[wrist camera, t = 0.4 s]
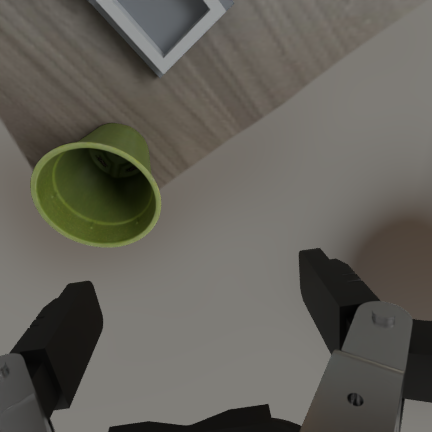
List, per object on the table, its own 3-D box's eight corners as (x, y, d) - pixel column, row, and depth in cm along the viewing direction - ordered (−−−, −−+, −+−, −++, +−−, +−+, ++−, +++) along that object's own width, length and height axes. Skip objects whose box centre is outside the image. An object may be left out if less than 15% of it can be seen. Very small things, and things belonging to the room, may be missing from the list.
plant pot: (185, 136, 38) (184, 185, 29) (140, 203, 44) (127, 262, 35) (91, 78, 34) (55, 116, 25) (53, 161, 39) (13, 217, 30)
